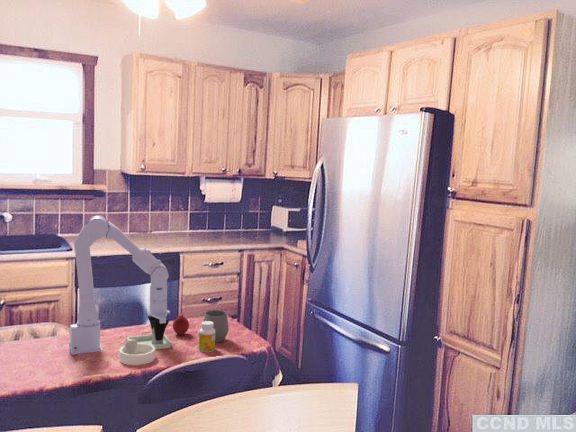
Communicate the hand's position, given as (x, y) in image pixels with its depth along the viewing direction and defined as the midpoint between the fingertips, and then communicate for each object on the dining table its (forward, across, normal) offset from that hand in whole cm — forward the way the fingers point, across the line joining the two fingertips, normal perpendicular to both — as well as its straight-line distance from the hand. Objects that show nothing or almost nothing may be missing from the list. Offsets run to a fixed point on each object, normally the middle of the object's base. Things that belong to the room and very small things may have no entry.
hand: (157, 338), depth 185 cm
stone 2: (+2, 0, 0) cm, 2 cm away
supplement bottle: (+3, -11, -14) cm, 18 cm away
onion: (+3, +7, -10) cm, 12 cm away
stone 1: (+2, -12, +11) cm, 16 cm away
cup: (+3, -2, -20) cm, 20 cm away
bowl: (+2, -12, +9) cm, 15 cm away
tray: (+2, 0, +3) cm, 4 cm away
